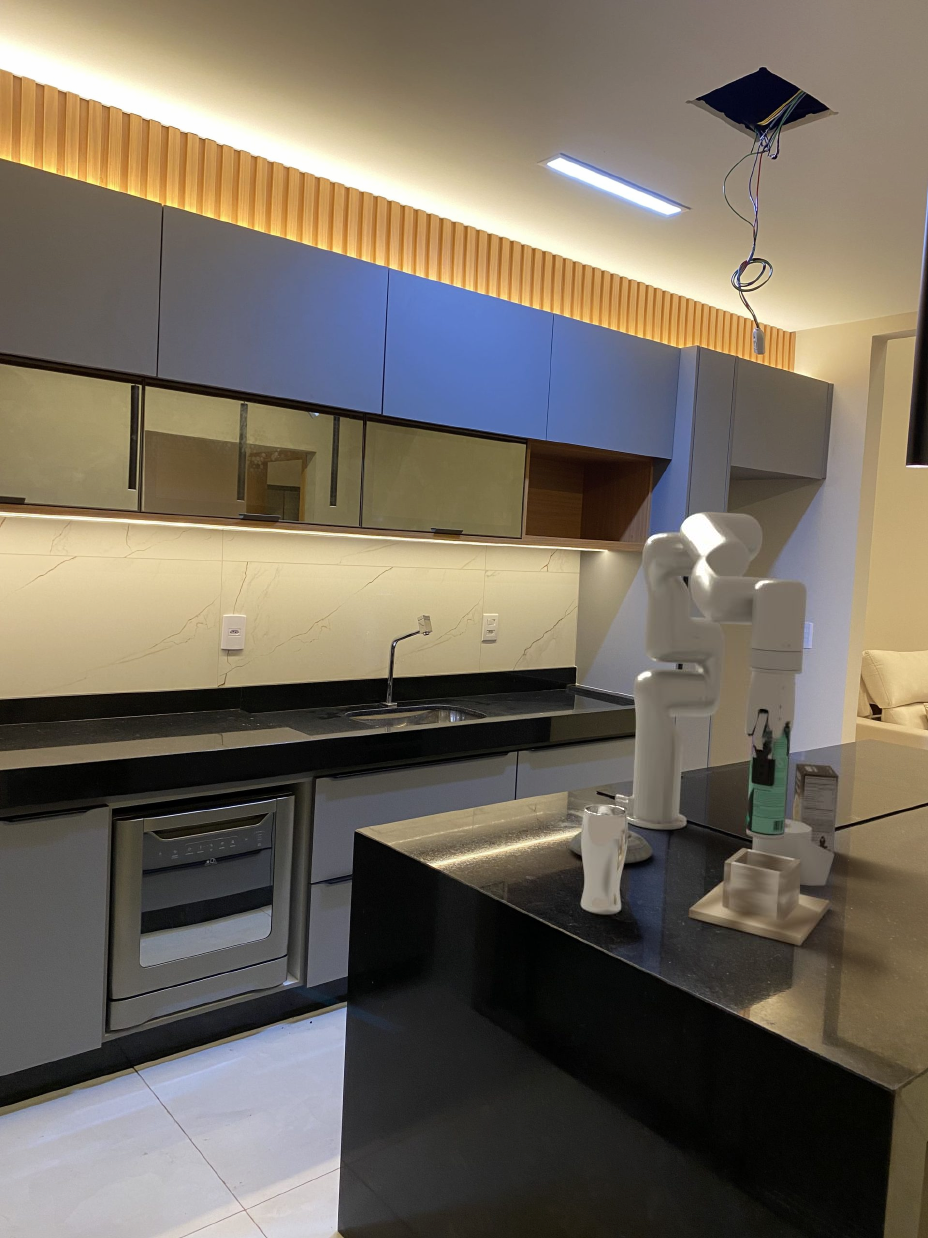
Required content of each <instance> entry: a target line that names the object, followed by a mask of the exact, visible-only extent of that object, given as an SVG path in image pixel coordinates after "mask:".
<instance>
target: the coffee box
mask: <svg viewBox="0 0 928 1238" xmlns="http://www.w3.org/2000/svg"><path fill="white" fill-rule="evenodd" d="M839 778H840V777H839V775H838V774H837V773H836V771H835V769H833V767H832V766H831V765H824V764H823V765H821V764H810V763H809V764H808V763H795V777H794V791H793V792H794V793H793V794H794V795H793V806H792V807H793V808H792V809H793V810H792V820H794V821H798V822H802V823H805V824H806V825H808V826H810V827H811V828H812V835H811V842H812V843H814V844H816V845H818V846H820V847H822V848H823V849H825V850H827V851H829V852H831V853H833V854H834V846H835V833H836V832H835V830H836V820H837V819H836V817H837V803H838V794H839V793H838V791H839ZM833 861H834V860H833ZM833 861H832V863H833Z"/></svg>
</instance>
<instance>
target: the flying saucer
mask: <svg viewBox="0 0 928 1238" xmlns="http://www.w3.org/2000/svg"><path fill="white" fill-rule="evenodd" d="M581 832H582V830H580V831H579V832H577V833H576V834H575V835H574V836H573V837H572V838H571V839H570V841H569V842H568V846H569V848H570V850H571V851H572V852H574V853H576V854H577V855H578V856H581V857H582V849H581ZM653 854H654V853H653V849H652V847H651V845H650V844H649V842H647V841H646V839H645V838H644V837H643V836H641V835H640V834H638V833H637V832H634V831H632V830H630V829H628V842H627V851H626V856H625V861H624V864H632V863H637V862H641V861H644V860H646V859H648V858H650V857H651V856H652V855H653Z"/></svg>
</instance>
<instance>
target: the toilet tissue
mask: <svg viewBox="0 0 928 1238" xmlns="http://www.w3.org/2000/svg"><path fill="white" fill-rule="evenodd" d="M811 835H812V828H811V827H810V826H808V825H806V824H805V823H802V822H798V821H794V820H793V819H789V818H785V833H784V838H783V839H781V840H764V839H759V838H755V837H752V846H751V847H752V849H751V850H755V851H760V852H765V853H770V854H774V855H779V856H784V857H789V858H794V859H799V860H802V861H801V876H800V886H801V885H802V886H803V885H804V886H826V883H827V880H828V877H829V873H830V871H831V867H832V863H833V862H832V861H834V857H835V853H834V852H833V853H831V852H829V851H827V850H825V849H823V848H822V847H820V846H818V845H816V844H814V843H812V842H811Z"/></svg>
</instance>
